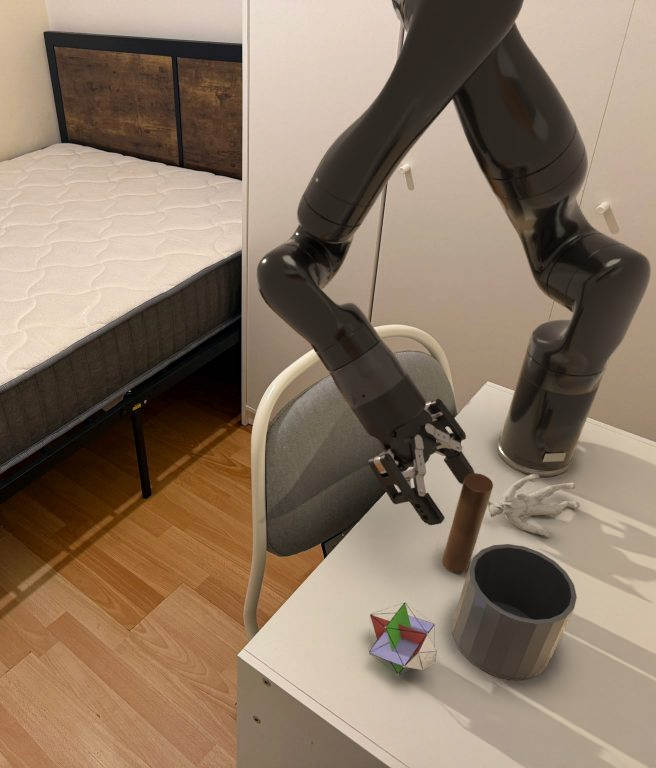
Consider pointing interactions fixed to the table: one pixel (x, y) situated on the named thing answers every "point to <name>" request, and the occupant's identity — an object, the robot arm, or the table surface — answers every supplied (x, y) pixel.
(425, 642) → the geometric puzzle
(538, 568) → the tin
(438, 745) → the table surface
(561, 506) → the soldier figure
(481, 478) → the cylinder
